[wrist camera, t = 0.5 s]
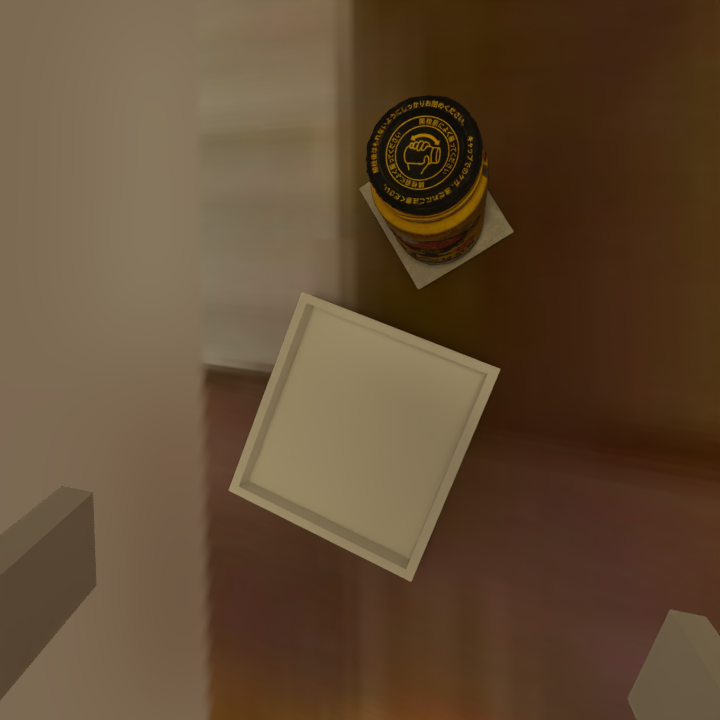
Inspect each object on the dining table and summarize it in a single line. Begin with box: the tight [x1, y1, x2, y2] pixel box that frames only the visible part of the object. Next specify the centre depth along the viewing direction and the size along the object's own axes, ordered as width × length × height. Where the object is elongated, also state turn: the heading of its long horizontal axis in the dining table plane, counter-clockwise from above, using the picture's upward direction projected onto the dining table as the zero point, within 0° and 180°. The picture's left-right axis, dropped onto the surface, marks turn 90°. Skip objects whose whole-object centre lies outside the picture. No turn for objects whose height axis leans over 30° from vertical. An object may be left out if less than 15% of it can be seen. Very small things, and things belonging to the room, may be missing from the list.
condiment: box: [359, 96, 514, 290], centre depth 27 cm, size 7×8×12 cm
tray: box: [229, 292, 500, 582], centre depth 33 cm, size 15×14×2 cm
